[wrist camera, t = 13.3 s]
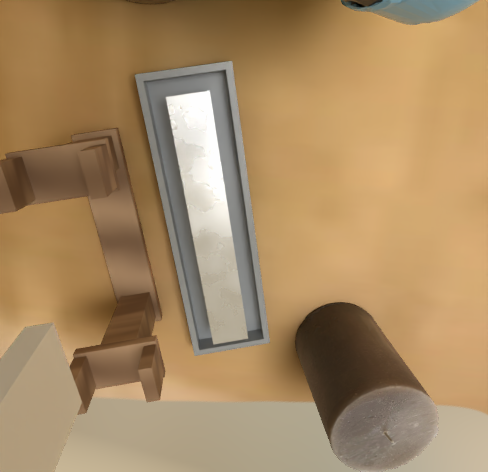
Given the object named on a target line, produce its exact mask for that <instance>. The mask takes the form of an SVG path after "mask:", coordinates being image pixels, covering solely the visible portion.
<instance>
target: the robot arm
mask: <svg viewBox="0 0 488 472" xmlns="http://www.w3.org/2000/svg"><path fill="white" fill-rule="evenodd" d="M127 1H131V2H135V3H142V4H159V3H166V2H170V1H174V0H127ZM477 1H479V0H341V2H342V4H343V5H345V6H346V7H348V8H350V9H353V10H356V11H369V12H373V13H375V14H378V15H381V16H383V17H386V18H389V19H391V20H394V21H396V22H400V23H403V24H410V25H416V24H420V23H431V22H436V21H440V20H443V19H445V18H448V17H450V16H452V15H455V14H457V13H459V12H461V11H462V10H464V9H466V8H468V7H469V6H471V5H473V4H474V3H476V2H477ZM81 404H82V401H81V398H80V395H79V392H78V389H77V387H76V384H75V381H74V378H73V375H72V373H71V370H70V367H69V364H68V361H67V359H66V356H65V353H64V350H63V347H62V345H61V342H60V339H59V336H58V333H57V331H56V328H55V325H54V323H47V324H41V325H35V326H29V327H25V328H24V329H23V330H22V331H21V333H20V334H19V335H18V337H17V338H16V339H15V341H14V342H13V343H12V345H11V346H10V347H9V348H8V350H7V351H6V352H5V354H4V355H3V356H2V358H1V359H0V472H54V471H55V469H56V466H57V464H58V461H59V458H60V456H61V454H62V451H63V449H64V446H65V444H66V441H67V438H68V436H69V434H70V431H71V429H72V426H73V424H74V421H75V419H76V416H77V414H78V411H79V409H80V406H81Z"/></svg>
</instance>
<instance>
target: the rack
mask: <svg viewBox="0 0 488 472" xmlns="http://www.w3.org/2000/svg"><path fill="white" fill-rule="evenodd" d="M71 137H72V141H73V142H71V143H68V144H65V145H58V146H51V147H45V148H38V149H31V150H24V151H18V152H11V153H7V154H5V155H6V158H7V159H4V160H0V214H2V213H9V212H15V211H18V210H19V209H21V208H23V207H25V206H27V205H33V204H40V203H46V202H53V201H59V200H66V199H72V198H79V197H85V196H88V199H89V202H90V206H91V210H92V213H93V217H94V220H95V224H96V228H97V231H98V235H99V238H100V242H101V246H102V249H103V253H104V256H105V260H106V264H107V267H108V271H109V274H110V278H111V282H112V285H113V289H114V292H115V296H116V300H117V303H118V305H117V307H116V309H115V312H114V314H113V316H112V319H111V321H110V324H109V326H108V328H107V331H106V333H105V335H104V338H103V340H102V342H101V345H96V346H91V347H85V348H79V349H76V350H75V352H74V354H73V357H74V359H73V361H72V363H71V365H70V370H71V373H72V375H73V378H74V381H75V384H76V387H77V389H78V392H79V395H80V398H81V401H82V404H81V406H80V409H79V411H78V414H84V413H86V412H87V409H88V407H89V404H90V401H91V399H92V396H93V394H94V391H95V389H100V388H105V387H111V386H117V385H122V384H128V383H134V382H140V381H141V383H142V387H143V390H144V394H145V397H146V401H147V402H151V401H157V400H160V396H161V389H162V382H163V377H165V368H164V364H163V360H162V356H161V351H160V347H159V343H158V339H157V335H155V336H152V331H153V327H154V322H155V321H160V320H162V312H161V308H160V304H159V299H158V295H157V291H156V287H155V282H154V278H153V274H152V270H151V266H150V261H149V257H148V253H147V249H146V244H145V240H144V236H143V232H142V228H141V223H140V219H139V215H138V211H137V206H136V202H135V198H134V194H133V190H132V185H131V181H130V177H129V173H128V168H127V164H126V160H125V156H124V152H123V147H122V143H121V139H120V135H119V131H118V128H115V129H108V130H102V131H95V132H88V133H81V134H74V135H71ZM78 414H77V415H78Z"/></svg>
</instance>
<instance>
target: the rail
mask: <svg viewBox="0 0 488 472" xmlns="http://www.w3.org/2000/svg"><path fill="white" fill-rule="evenodd" d="M166 101H167V106H168V111H169V116H170V121H171V127H172V132H173V137H174V142H175V147H176V153H177V158H178V163H179V168H180V173H181V179H182V184H183V189H184V194H185V199H186V205H187V210H188V215H189V220H190V225H191V231H192V236H193V241H194V246H195V251H196V257H197V262H198V267H199V272H200V277H201V283H202V288H203V293H204V298H205V303H206V309H207V314H208V319H209V324H210V329H211V335H212V340H213V344H219V343H225V342H231V341H237V340H242V339H248V334H247V327H246V321H245V314H244V308H243V302H242V295H241V289H240V282H239V276H238V270H237V263H236V257H235V250H234V244H233V238H232V231H231V225H230V218H229V212H228V206H227V199H226V193H225V186H224V180H223V174H222V167H221V161H220V154H219V148H218V142H217V135H216V129H215V122H214V116H213V109H212V103H211V97H210V91H204V92H197V93H190V94H184V95H177V96H170V97H166Z"/></svg>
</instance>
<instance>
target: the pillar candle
mask: <svg viewBox="0 0 488 472" xmlns="http://www.w3.org/2000/svg"><path fill="white" fill-rule="evenodd" d="M295 344H296V351H297V354H298V357H299V359H300V362H301V365H302V368H303V370H304V373H305V376H306V379H307V382H308V384H309V387H310V390H311V392H312V395H313V398H314V401H315V404H316V406H317V409H318V412H319V414H320V417H321V420H322V423H323V425H324V428H325V431H326V434H327V436H328V439H329V441H330V444H331V448H332V450H333V452H334V453H335V455H336V456H337V458H338V459H339V460H340V461H341V462H343V463H344V464H345V465H347V466H348V467H350V468H353V469H356V470H359V471H360V472H383V471H384V470H387V469H393V468H398V466H401V465H404V464H407V463H408V462H409V461H411V460H412V459H414V458H415V457H416V456H418V455H419V454H421V453H422V452H423V451H424V449H425V448H427V446H428V445H429V443H430V442H431V441H432V439H433V438H435V437H436V435H437V434H438V427H437V425H438V419H439V417H438V412H437V407H436V405H435V404H434V402H433V401H432V399H431V398H430V397H429V395H428V394H427V393H426V391H425V390H424V388H423V387H422V386H421V384H420V383H419V381H418V380H417V379H416V377H415V376H414V375H413V373H412V372H411V371H410V369H409V368H408V366H407V365H406V364H405V362H404V361H403V360H402V358H401V357H400V356H399V354H398V353H397V351H396V350H395V348H394V347H393V346H392V344H391V343H390V342H389V340H388V339H387V338H386V336H385V335H384V334H383V332H382V331H381V329H380V328H379V326H378V325H377V323H376V322H375V321H374V319H373V318H372V316H371V315H370V314H369V313H367V312H366V311H365V310H363V309H361V308H360V307H358V306H356V305H353V304H349V303H334V304H329V305H326V306H323V307H321V308H319V309H317V310H315V311H313V312H312V313H311V314H309V315H308V316H307V317H306V319H305V320H304V321H303V323H302V324H301V326H300V327H299V329H298V332H297V335H296V341H295Z"/></svg>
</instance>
